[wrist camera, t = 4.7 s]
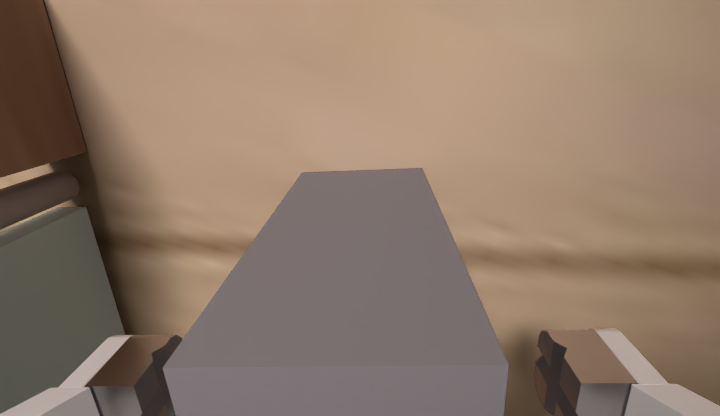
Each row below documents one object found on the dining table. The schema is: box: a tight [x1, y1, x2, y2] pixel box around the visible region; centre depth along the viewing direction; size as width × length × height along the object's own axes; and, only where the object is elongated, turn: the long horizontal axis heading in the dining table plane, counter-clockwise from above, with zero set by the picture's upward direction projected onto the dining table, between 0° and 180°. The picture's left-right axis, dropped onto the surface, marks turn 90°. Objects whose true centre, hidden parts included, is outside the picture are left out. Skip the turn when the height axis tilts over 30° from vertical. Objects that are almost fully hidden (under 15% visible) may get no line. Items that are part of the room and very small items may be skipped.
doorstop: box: [163, 168, 509, 416], centre depth 10 cm, size 4×6×9 cm, turn 3°
